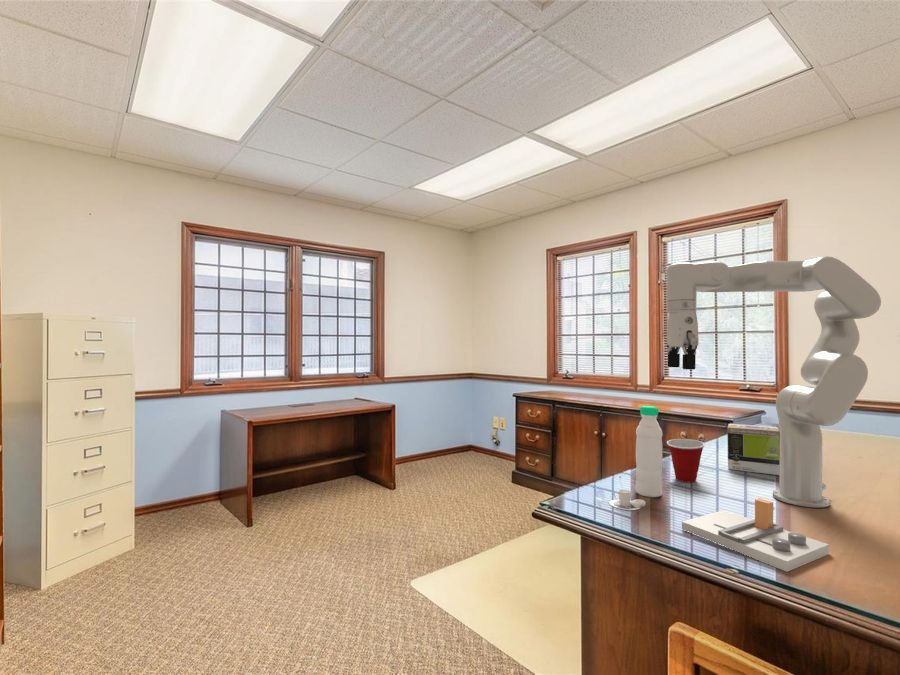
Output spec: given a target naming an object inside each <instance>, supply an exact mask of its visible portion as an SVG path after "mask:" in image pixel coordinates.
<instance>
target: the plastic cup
mask: <svg viewBox="0 0 900 675" xmlns="http://www.w3.org/2000/svg"><path fill="white" fill-rule="evenodd" d="M666 445H668V449H669V452H670V455H671V462H672V467H673V470H674V477H675V480H677V481H679V482H683V483H695V482H697V478H698V473H699V470H700V468H699V467H700V463H701V458H702V454H703V450H704V447H705V442H702V441H700V440H697V439H690V438H673V439H669V440H667V441H666Z"/></svg>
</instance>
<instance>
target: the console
mask: <svg viewBox="0 0 900 675" xmlns="http://www.w3.org/2000/svg"><path fill="white" fill-rule="evenodd" d="M682 529H683V530H686V531H689V532H691V533H694V534H696V535H699V536H701V537H704V538H706V539H709V540H711V541H714V542H716V543H719V544H721V545H724V546H726V547H728V548H731V549H733V550H735V551H734V552H736V551H737V552H736V553H738V552H740V553H739V554H741V553H742V554H741V555H743V554H744V556H746V555H747V556H746V557H748V556H749V557H748V558H751V557H752V558H751V559H753V558H754V560H756V561H758V560H759V561H758V562H762V563H763V564H766V565H768V564H769V566H771V567H774V568H777V569H779V570H782V571H783V572H787V573H788V572H790V571H792V570H795V569H797V568H800V567H802V566H804V565H807V564H809V563H811V562H813V561H815V560H818V559H821V558H823V557H826V556H827V555H829V554H830V544H829V543H825V542H822V541H820V540H817V539H815V538H810V537H807V536H806V535H804V534H801V533H798V532H792V531H790V530H786V529H784V526H781V525H780V524H778V523H775V522H773V527H771V528H768V529H765V530H764V529H761V528H758V527H755V518H754V519H752V518H748V517H746V516H743V515H740V514H737V513H734V512H731V511H727V510H724V509H722V510H719V511H716V512H711V513H708V514H704V515H700V516H697V517H694V518H690V519H686V520H682V521H681V530H682ZM728 548H727V549H728ZM731 549H730V550H731ZM733 550H732V551H733Z"/></svg>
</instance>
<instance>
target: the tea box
mask: <svg viewBox="0 0 900 675" xmlns="http://www.w3.org/2000/svg"><path fill="white" fill-rule="evenodd" d="M726 431H727V432H726V433H727V469H728V470H732V471H741V472H748V473H755V474H757V473H758V474H763V475H764V474H765V475H772V476H779V446H780V445H779V441H780V430H779V427H777V426H765V425H754V424H753V425H751V424H739V423H738V424H737V423H728V425H727V430H726Z"/></svg>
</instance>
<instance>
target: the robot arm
mask: <svg viewBox="0 0 900 675" xmlns="http://www.w3.org/2000/svg"><path fill="white" fill-rule="evenodd" d="M818 290H824V292H821V293H820V294H819V295H818V296H817V297H816V298H815V300H814V304H813V306H814V308H813V309H814V311H815V313H816V316H817V318H818V320H819V322H820V326H821V330H820V334H819V337H818V339H817V341H816V342H815V343H814V346H813V347H812V348H811V350H810V352H809V353H808V355H807V356H806V358H805V360H804V362H803V364H802V365H801V367H800V368H801V369H800V376H801V378H802V379H803V380H804V381H805V382H807V383H808V384H811V385H814V386H815V387H813V386H806V385H796V384H795V385H788V386H786V387H784V388H782V389H781V390H780V391H779V392H778V394H777V396H776V397H775V398H776V399H775V408H776V414H777V418H778V425H779V427H778V429H779V432H780V441H779V445H780V446H779V475H778V478H779V482H778V483H779V484H778V485H779V486H778V487H779V488H778V489H774V490H772V496H773V497H774V498H775V499H776V500H779V501H781V502H783V503H786V504H790V505H795V506H799V507H805V508H817V509H819V508H821V509H822V508H828V507H829V506H830V499H828V498H827V497H825V496H824V495H823V491H824V490H826V489H827V484H825V483H824V482H823V445H824V444H823V442H824V441H823V433H822V429H821V427H820V426H822V427H828V426H829V427H830V426H833V425H836V424H838V423H839V422H841V421H842V420H843V419H844V418H845V416H846V415H847V414H848V413H849V410H850V409H851V408H852V407H853V405H854V404H855V401H856V400H857V398H858V397H859V396H860V393H861V392H862V390H863V389H864V387H865V385H866V384H867V380H868V375H869V374H868V373H869V371H868V365H867V363H866V362H865V361H864V360H863V359H862V358H861V357H859V356H858V355H855V351H856V350H857V348H858V346H859V344H860V340H861V339H860V338H861V337H860V331H859V329H858V326H857V323H856V321H855V320H858V319H859V320H860V319H867V318H869V317H872V316H873V315H876V313H877V312H878V311H879V310H880V308H881V304H882V300H881V299H882V298H881V295H880V294H879V291H877V289H876V288H875V287H874V286H872V285H871V284H870V283H869V282H868V281H867V280H865V278H863V277H862V276H861V275H860V274H858V273H857V272H856V271H855V270H854V269H852V267H850V266H849V265H848V264H846V263H845V262H843V261H841V260H840V259H838V258H836V257H834V256H827V255H826V256H821V257H817V258H813V259H807V260H759V261H753V262H752V261H751V262H749V263H748V262H747V263H744V264H743V263H742V264H739V265H733V266H732V265H727V263H725V262H722V261H705V262H697V263H692V262H676V263H672V264H669V266H668V267H667V268H666V313H667V314H668V318H667V328H666V329H667V330H666V334H667V335H666V343H667V344H666V349H667V367H668V368H680V366H681V365H680V361H681V358H680V357H681V356H680V354H681V353H679V352H680V349H682V351H683V354H682V369H683V370H696V356H697V349H698V347H699V344H700V342H699V325H698V324H699V323H698V316H697V297H698V296H697V292H698V293H735V292H736V293H737V292H738V293H740V292H741V293H757V292H759V293H761V292H762V293H763V292H765V293H766V292H768V293H769V292H786V293H787V292H788V293H789V292H790V293H791V292H793V293H794V292H795V293H796V292H802V293H805V292H813V291H818Z"/></svg>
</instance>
